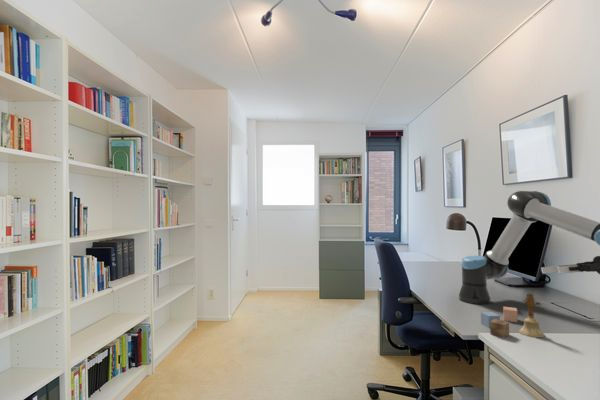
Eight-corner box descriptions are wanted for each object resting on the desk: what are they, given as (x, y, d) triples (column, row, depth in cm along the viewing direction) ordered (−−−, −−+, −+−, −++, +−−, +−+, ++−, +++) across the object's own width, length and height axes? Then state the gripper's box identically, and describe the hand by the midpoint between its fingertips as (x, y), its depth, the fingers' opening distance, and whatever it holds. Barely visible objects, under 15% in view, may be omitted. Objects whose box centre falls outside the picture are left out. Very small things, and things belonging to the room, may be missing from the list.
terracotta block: (503, 320, 146) (503, 309, 146) (503, 317, 151) (503, 306, 151) (517, 322, 144) (517, 311, 144) (516, 319, 148) (516, 308, 148)
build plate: (539, 306, 169) (538, 297, 169) (521, 304, 172) (521, 295, 173) (536, 300, 180) (535, 292, 180) (520, 299, 183) (519, 290, 183)
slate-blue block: (481, 324, 142) (480, 312, 142) (491, 323, 142) (491, 311, 143) (488, 328, 137) (488, 316, 137) (500, 327, 138) (499, 315, 138)
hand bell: (537, 339, 125) (536, 296, 125) (514, 332, 132) (513, 292, 133) (549, 335, 129) (548, 294, 129) (526, 328, 136) (525, 289, 137)
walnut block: (490, 334, 130) (490, 321, 130) (495, 331, 133) (494, 318, 134) (504, 338, 126) (504, 324, 127) (509, 334, 130) (508, 322, 130)
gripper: (636, 274, 118) (569, 280, 122) (593, 274, 142) (538, 279, 146) (629, 253, 120) (563, 259, 124) (587, 256, 144) (533, 262, 148)
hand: (549, 270), depth 135 cm, fingers open, 13 cm apart
